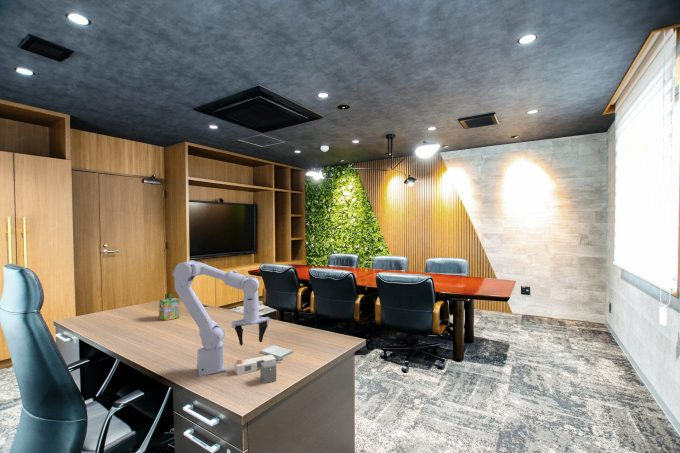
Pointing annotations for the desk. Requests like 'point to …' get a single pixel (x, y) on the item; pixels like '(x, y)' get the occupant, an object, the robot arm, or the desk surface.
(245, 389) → the desk surface
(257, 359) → the power strip
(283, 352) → the hard drive
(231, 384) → the desk surface
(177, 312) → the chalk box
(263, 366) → the block
